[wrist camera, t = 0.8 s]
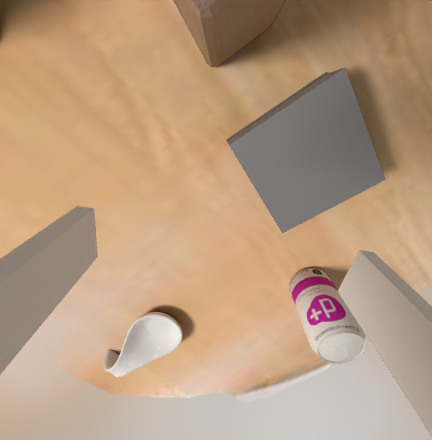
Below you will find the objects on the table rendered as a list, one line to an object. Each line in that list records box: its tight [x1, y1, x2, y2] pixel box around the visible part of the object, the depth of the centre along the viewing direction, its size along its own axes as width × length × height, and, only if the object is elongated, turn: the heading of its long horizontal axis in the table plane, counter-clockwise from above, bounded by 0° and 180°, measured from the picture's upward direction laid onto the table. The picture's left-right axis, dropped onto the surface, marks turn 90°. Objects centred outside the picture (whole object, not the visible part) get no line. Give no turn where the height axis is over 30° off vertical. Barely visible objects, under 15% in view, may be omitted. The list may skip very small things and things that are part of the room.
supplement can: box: [289, 268, 366, 364], centre depth 41 cm, size 8×8×15 cm
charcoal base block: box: [227, 68, 385, 233], centre depth 34 cm, size 16×16×6 cm
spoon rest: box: [104, 312, 183, 377], centre depth 53 cm, size 24×12×7 cm, turn 134°
